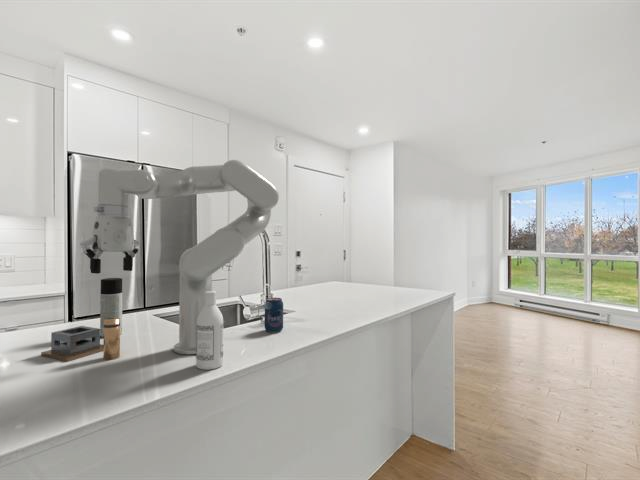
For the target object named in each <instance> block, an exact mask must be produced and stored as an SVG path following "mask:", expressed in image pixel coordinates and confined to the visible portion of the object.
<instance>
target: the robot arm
mask: <svg viewBox="0 0 640 480" xmlns="http://www.w3.org/2000/svg"><path fill="white" fill-rule="evenodd" d="M97 183H98V187H97V192H98V193H97V206H94V208H93V211H94V212H96V213H97V216H96V215H95V218H94V223H93V226H92V234H91V237H89V238H88V239H85V240H84V241H81V242H80V243H79V244H80V247H81V249H82V250H83V253H84V254H85V255H86V256H87V258H88V259H89V270H90V273H91V274H100V273H101V269H102V268H101V263H102V261H101V258H100V257H101V255H102V254H103V253H104V252H105V253H117V252H122V254H123V255H124V257H123V262H122V264H123V265H122V267H123V268H122V270H123V271H125V272H126V271H127V272H132V271H133V261H134V258H135V257H136V255H137V253H138V252H139V249H140V247H141V244H142V243H141V242H139V241H138V240H137V239H135V236H134V234H135V233H134V226H133V222H132V218H130V217H129V194H130V195H135V196H137V197H138V198H140V199H143V200H156V199H167V198H168V199H169V198H177V197H184V196H185V197H186V196H192V195H199V194H203V195H204V194H213V193H224V192H235V191H236V192H237V193H239V194H240V195H242V196H243V197H244V198H246V201H247V208H246V211H245V212H244V213H243V214H242V215H240V216H239V217H237V218H236V219H235V220H233V221H232V222H230V223H228V224H227V225H225V226H223V227H221V228H219V229H217V230H216V231H215V232H214V233H213V234H210V236H209V235H208V237H206V238H205V239H203V240H202V241H200V242H199V243H197V244H196V245H194V246H193V247H190V248H188V249H185V251H184V252H183V253H182V254H181V256H180V258H179V262H178V263H179V310H178V311H179V315H178V316H179V319H178V321H179V323H178V325H179V328H178V332H179V333H178V338H179V339H178V342H177V343H176V344H174V345H173V351H174V352H175V353H176V354H180V355H196V324H197V318H198V315H199V313H200V312H201V310H202V308H203V307H204V305H205V292H206V291H213V274H214V273H216V272H218V271H219V270H220V269H222V268H223V267H224V266H226V265H228V264H229V263H231V262H232V261H234V260H235V258H237V257H238V256H239V255H240V254H241V253H242V251H243V250H244V248H245V246H246V245H247V244H249V243H250V242H251V241H252V240H254V239H255V238H256V237H258V236H259V235H261V233H263V232H264V231H265V230H266V228H267V227H268V225H269V222H270V221H271V220H270V219H271V216H272V215H271V214H272V213H271V212H272V209H273V208H274V207H276V205H277V204H278V201H279V191H278V190H277V188H276V186H275V185H273V184H272V183H271V182H270V181H268V180H267V179H266V178H265V177H263V176H262V175H261V174H259V173H258V172H257V171H255V170H254V169H252V167H250V166H249V165H247V164H246V163H244V162H243V161H241V160H238V159H231V160H227V161H226V162H225V163H224V164H217V165H216V164H215V165H201V166H200V165H199V166H189V167H187V168H184V169H182V170H180V171H178V172H174V173H167V174H158V175H157V174H156V175H154V174H153V173H152V172H151V171H148V170H145V169H126V170H122V169H117V168H103V169H100V170H99V172H98V182H97ZM90 245H91V247H90ZM91 248H92V249H91Z"/></svg>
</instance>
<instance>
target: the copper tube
mask: <svg viewBox="0 0 640 480" xmlns="http://www.w3.org/2000/svg"><path fill="white" fill-rule="evenodd" d="M103 327H104V337H103V345H104V351H102V352H103V356H102V357H103V358H102V359H103V361H111V360H116V359H119V358H120V357H121V355H120V354H121V334H120V318H108V319H105V320H104V326H103Z"/></svg>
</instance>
